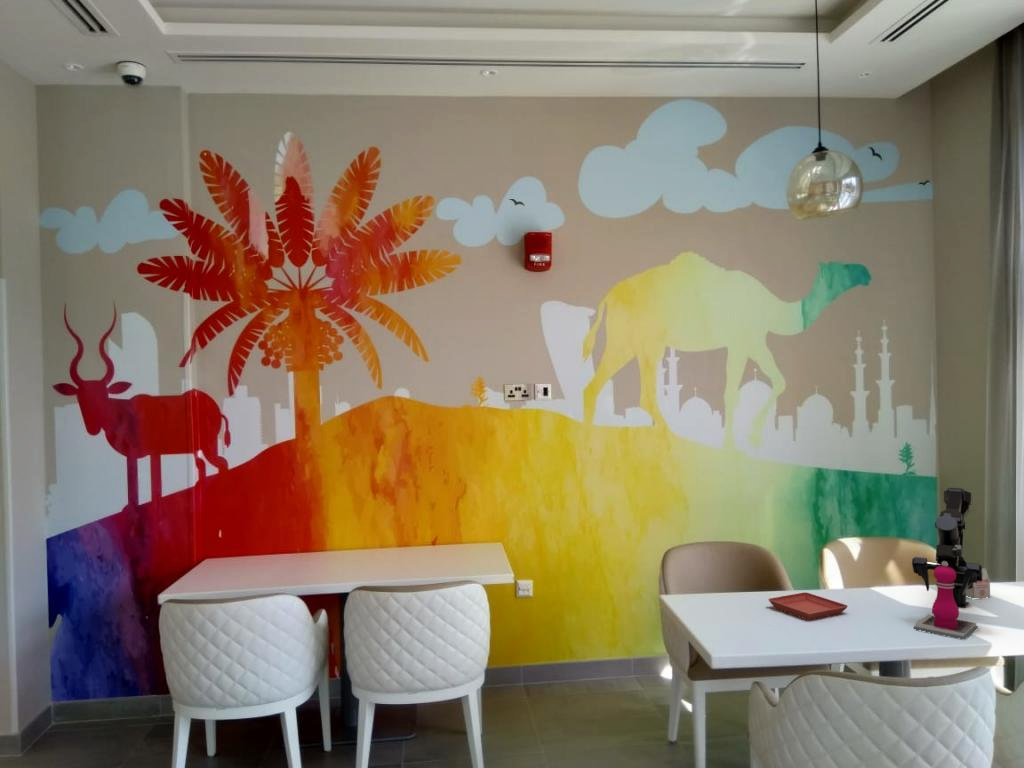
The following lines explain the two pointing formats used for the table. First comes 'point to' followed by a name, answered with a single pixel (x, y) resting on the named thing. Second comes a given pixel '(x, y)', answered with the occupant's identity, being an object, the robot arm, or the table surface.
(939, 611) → the pepper mill
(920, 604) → the table surface
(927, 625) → the silver dock
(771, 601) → the plant saucer
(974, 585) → the tea bag
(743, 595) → the table surface
